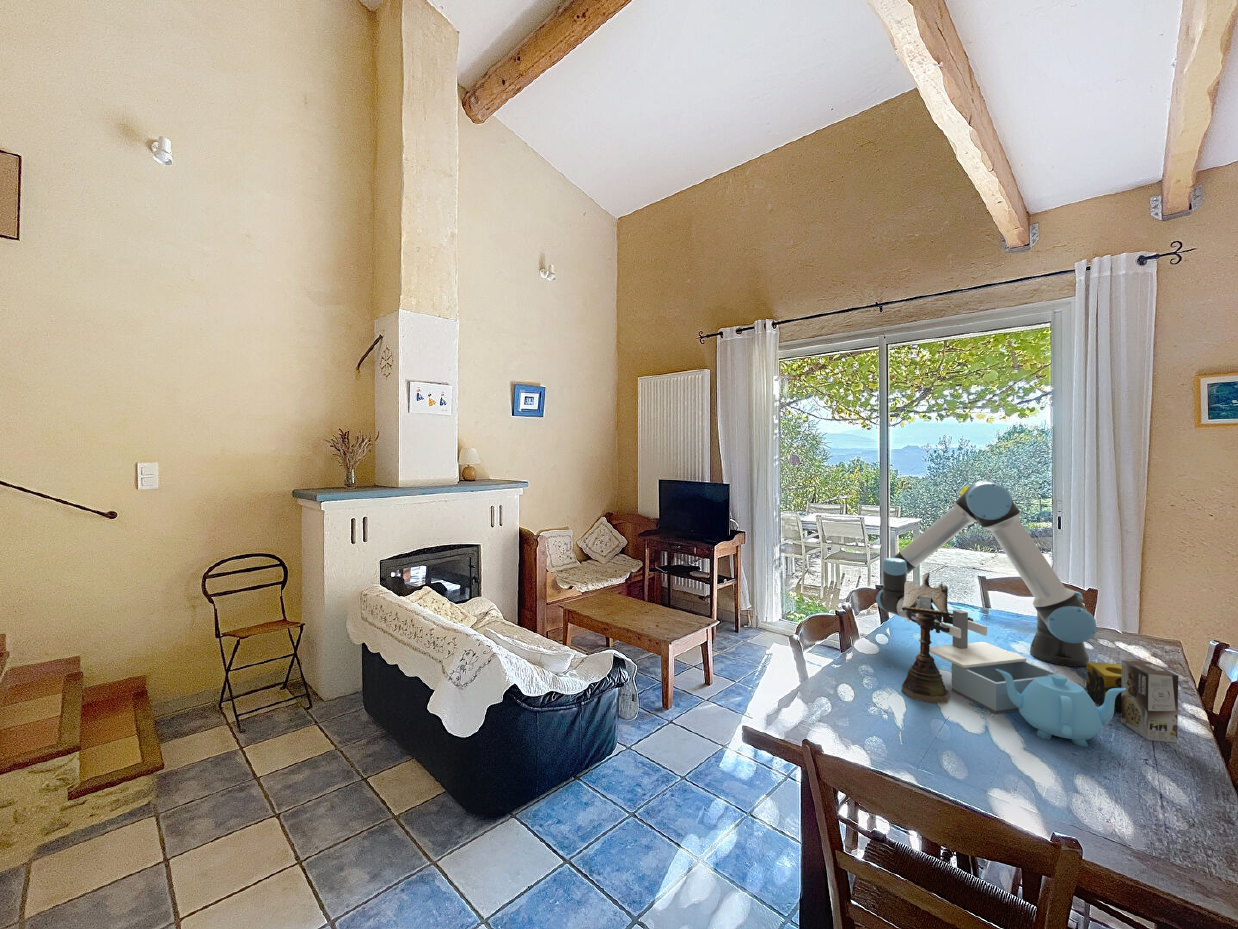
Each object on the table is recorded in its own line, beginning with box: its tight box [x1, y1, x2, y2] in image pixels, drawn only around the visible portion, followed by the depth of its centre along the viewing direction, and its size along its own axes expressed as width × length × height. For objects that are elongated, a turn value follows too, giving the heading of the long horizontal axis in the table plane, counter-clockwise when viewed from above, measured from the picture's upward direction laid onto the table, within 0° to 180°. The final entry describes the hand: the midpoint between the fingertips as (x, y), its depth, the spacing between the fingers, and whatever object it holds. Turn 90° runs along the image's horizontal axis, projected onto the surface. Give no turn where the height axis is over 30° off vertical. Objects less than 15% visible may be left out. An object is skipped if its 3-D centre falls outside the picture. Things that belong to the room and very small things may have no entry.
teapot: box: [996, 669, 1126, 747], centre depth 130 cm, size 16×20×14 cm
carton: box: [951, 660, 1060, 715], centre depth 149 cm, size 22×14×8 cm, turn 103°
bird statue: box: [900, 572, 956, 704], centre depth 149 cm, size 17×13×35 cm
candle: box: [1085, 661, 1122, 714], centre depth 144 cm, size 10×10×10 cm
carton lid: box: [929, 609, 1027, 668], centre depth 158 cm, size 22×14×12 cm, turn 103°
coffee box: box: [1120, 660, 1179, 744], centre depth 130 cm, size 9×6×16 cm
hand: (973, 632), depth 159 cm, fingers open, 9 cm apart
